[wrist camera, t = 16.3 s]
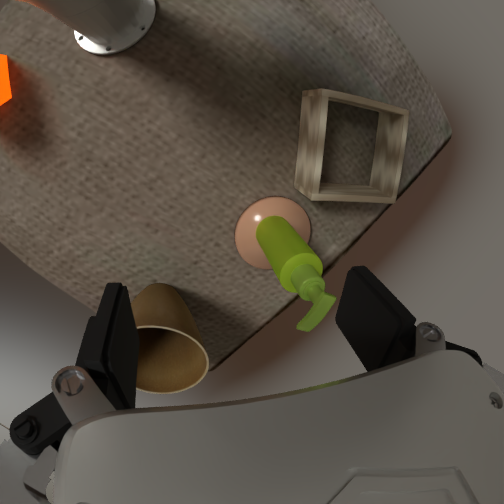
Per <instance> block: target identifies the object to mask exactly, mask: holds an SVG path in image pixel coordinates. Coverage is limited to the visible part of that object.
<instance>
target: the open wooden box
mask: <svg viewBox="0 0 504 504" xmlns="http://www.w3.org/2000/svg"><path fill="white" fill-rule="evenodd" d="M328 101H331V102H336V103H342V104H346V105H351V106H356V107H360V108H365V109H369V110H373V111H377V112H379V116H378V126H377V135H376V143H375V151H374V158H373V165H372V171H371V177H370V183H369V186H367V185H353V184H338V183H320V177H321V169H322V161H323V152H324V142H325V132H326V122H327V110H328ZM408 119H409V111H408V110H405V109H402V108H399V107H396V106H393V105H389V104H386V103H382V102H379V101H375V100H372V99H368V98H364V97H360V96H356V95H352V94H347V93H343V92H338V91H333V90H328V89H323V88H322V89H313V90H305V91H302V103H301V116H300V128H299V140H298V151H297V162H296V172H295V182H294V188H295V189H297V190H298V191H299V192H301V193H302V194H303V195H305V196H306V197H307V198H309V199H310V200H311V201H351V202H375V203H394V204H395V202H396V197H397V192H398V187H399V182H400V176H401V170H402V164H403V158H404V151H405V144H406V137H407V128H408Z"/></svg>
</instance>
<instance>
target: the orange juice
mask: <svg viewBox="0 0 504 504" xmlns="http://www.w3.org/2000/svg"><path fill="white" fill-rule="evenodd" d="M10 98H12V96H11V89H10V82H9V74H8V64H7V55H1V54H0V106H1V105H2V104H3V103H5V102H6V101H8V100H9V99H10Z"/></svg>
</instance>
